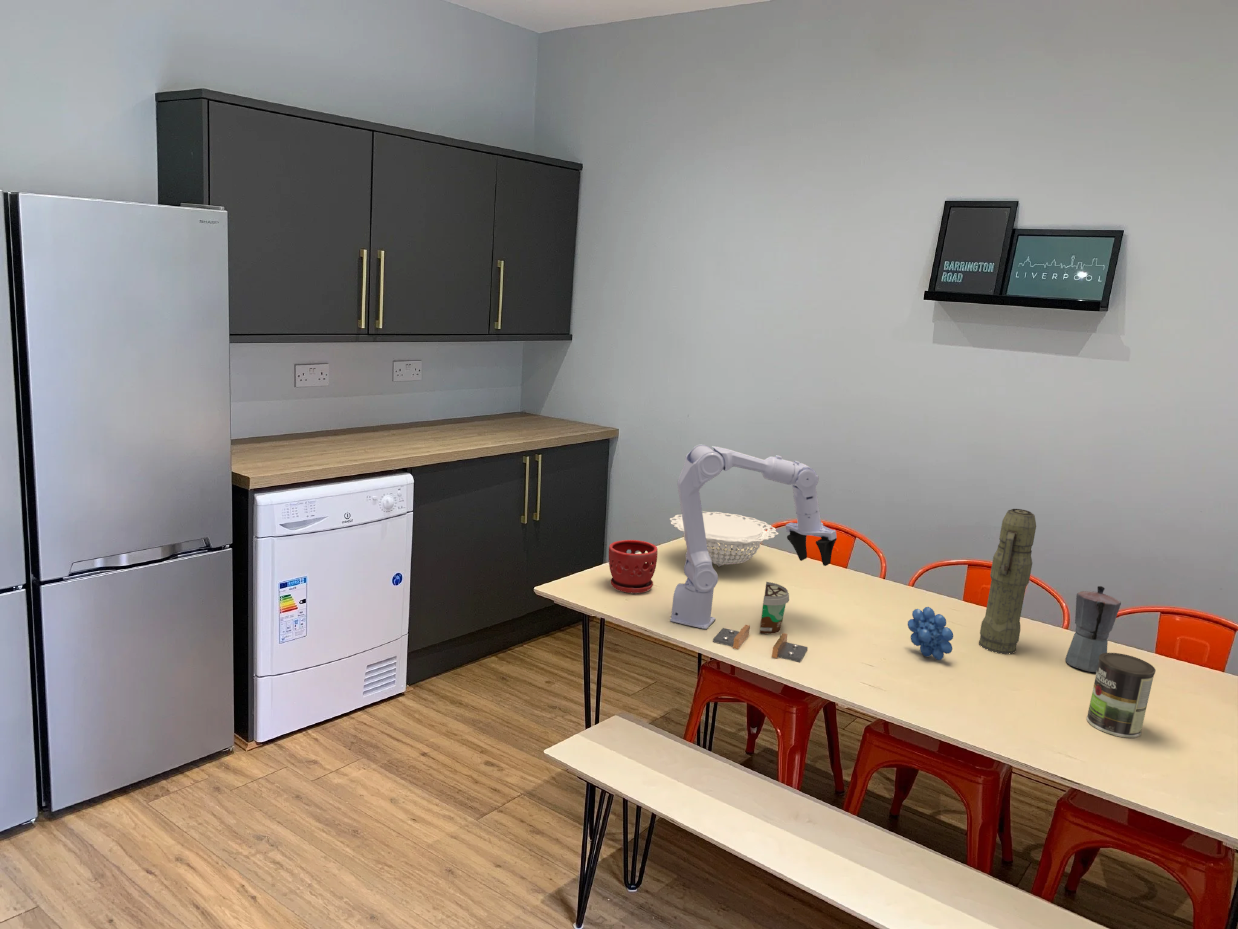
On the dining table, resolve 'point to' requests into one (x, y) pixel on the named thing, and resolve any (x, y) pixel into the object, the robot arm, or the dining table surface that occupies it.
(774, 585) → the food container
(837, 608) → the dining table surface
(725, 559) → the white lattice basket
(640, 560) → the plant pot
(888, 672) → the dining table surface
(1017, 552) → the thermos
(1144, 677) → the coffee can
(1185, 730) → the dining table surface
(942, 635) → the grapes
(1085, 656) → the moka pot
